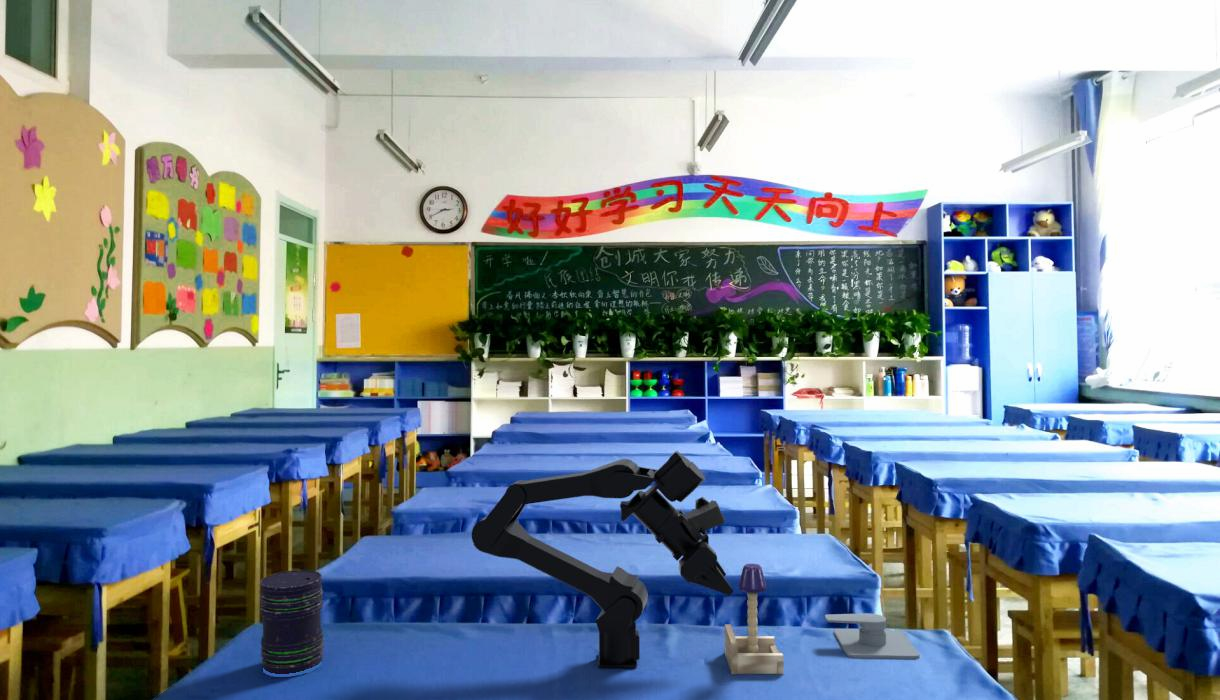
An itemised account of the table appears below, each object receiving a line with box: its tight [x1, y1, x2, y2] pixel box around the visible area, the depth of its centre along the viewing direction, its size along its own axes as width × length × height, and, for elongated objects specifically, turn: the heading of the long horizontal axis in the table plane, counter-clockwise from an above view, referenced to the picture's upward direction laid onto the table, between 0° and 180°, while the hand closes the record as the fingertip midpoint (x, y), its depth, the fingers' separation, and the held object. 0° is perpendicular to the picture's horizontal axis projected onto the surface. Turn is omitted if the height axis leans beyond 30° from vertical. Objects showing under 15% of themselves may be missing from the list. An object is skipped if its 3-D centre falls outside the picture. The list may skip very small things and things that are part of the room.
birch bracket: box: [724, 623, 785, 675], centre depth 141 cm, size 8×9×5 cm
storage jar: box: [259, 569, 324, 674], centre depth 141 cm, size 10×10×15 cm
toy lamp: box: [738, 563, 767, 653], centre depth 141 cm, size 5×5×17 cm
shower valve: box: [824, 613, 921, 660], centre depth 149 cm, size 12×6×15 cm
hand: (727, 584), depth 141 cm, fingers open, 9 cm apart
